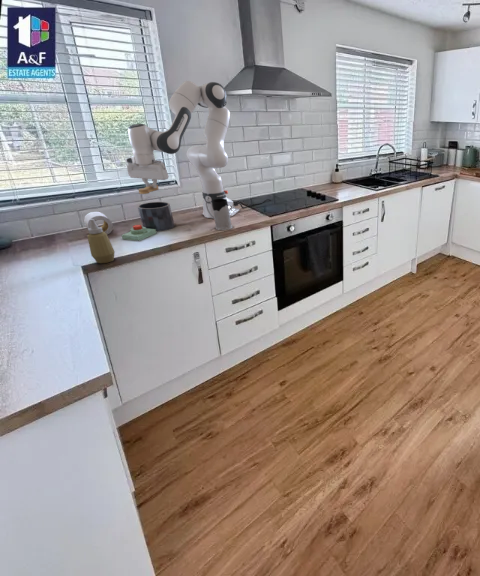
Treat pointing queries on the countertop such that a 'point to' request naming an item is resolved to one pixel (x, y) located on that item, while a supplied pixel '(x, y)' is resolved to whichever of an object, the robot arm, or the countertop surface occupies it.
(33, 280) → the countertop surface
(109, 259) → the squeeze bottle
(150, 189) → the bone dog treat
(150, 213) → the dark grey round container
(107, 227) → the toilet paper
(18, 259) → the countertop surface
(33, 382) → the countertop surface
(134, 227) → the button
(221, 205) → the grey and black mug
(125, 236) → the base
